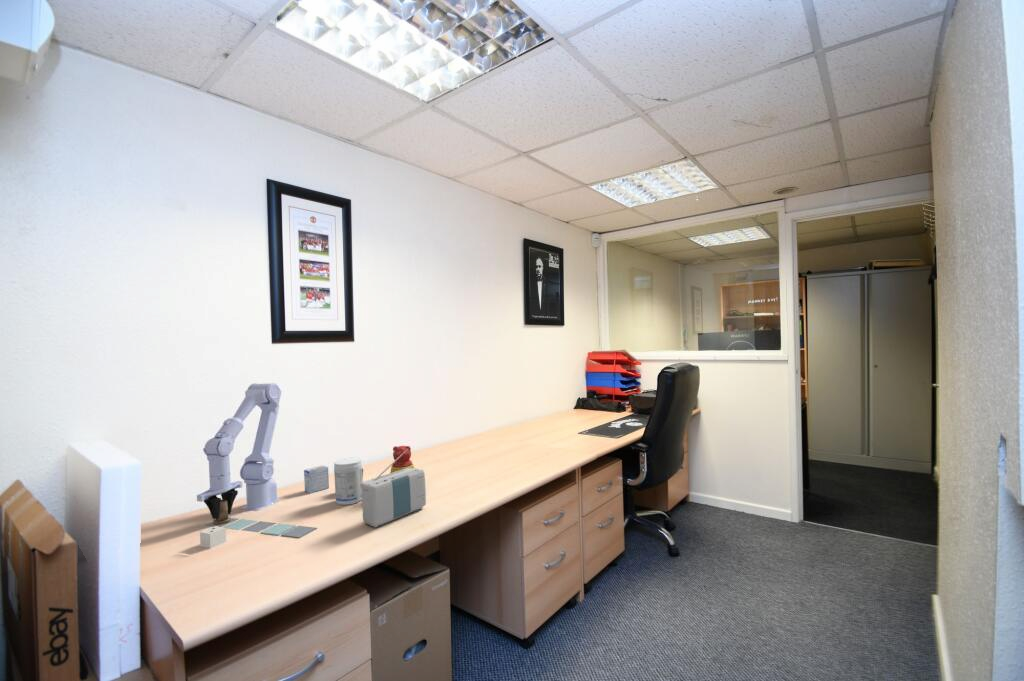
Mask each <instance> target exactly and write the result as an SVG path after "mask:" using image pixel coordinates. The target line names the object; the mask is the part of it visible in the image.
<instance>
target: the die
mask: <svg viewBox="0 0 1024 681" xmlns="http://www.w3.org/2000/svg"><path fill="white" fill-rule="evenodd" d="M223 527H224V526H222V527H218V526H214V527H213V526H211V527H209V528H206V529H204V530H202V531H200V532H199V539H200V540H199V541H200V542H199V543H200V547H202V548H206V549H210V550H211V549H213V548H215V547H217V546H220V545H223V544H224V543H226V542H227V534H226V533H227V531H226V529H227V528H223Z"/></svg>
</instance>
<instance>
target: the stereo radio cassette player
mask: <svg viewBox="0 0 1024 681" xmlns="http://www.w3.org/2000/svg"><path fill="white" fill-rule="evenodd" d="M407 450H408V449H407ZM407 450H406V451H407ZM406 451H405V452H406ZM405 452H404V453H405ZM404 453H403V454H404ZM403 454H401V455H400V456H399V457H398V458H397V459H396V460H393V461H392V463H390V464H388V466H386V468H385V469H384V470H382V472H381V473H380V474H378V476H376V477H375V478H371V479H368V480H365V481H363V482H361V489H362V500H361V503H362V504H361V507H362V521H363V522H364V523H365V524H366V525H369V526H372V527H374V528H378V527H379V526H382V525H385V524H387V523H389V522H391V521H394V520H396V519H399V518H402V517H404V516H406V515H409V514H411V513H414V512H416V511H418V510H422V509H423V508H424V507H425V506H426V504H427V493H426V492H427V491H426V490H427V488H426V487H427V486H426V475H425V471H424V469H419V468H415V467H414V468H406V469H403V470H399V471H396V472H393V473H390V472H389V473H387V474H385V473H386V471H387V470H388V469H389V468H391V467H392V465H393V464H394V463H395V462H396V461H397V460H398V459H399V458H400V457H401V456H402V455H403Z"/></svg>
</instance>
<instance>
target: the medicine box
mask: <svg viewBox="0 0 1024 681" xmlns="http://www.w3.org/2000/svg"><path fill="white" fill-rule="evenodd" d="M303 478H304V480H303V483H304V492H305V493H307V494H313V493H316V492H319V491H324V490H325V489H326V490H327V489H329V488H330V483H329V482H330V478H329V467H328V466H326V465H323V464H322V465H318V466H314V467H310V468H307V469H304V470H303Z"/></svg>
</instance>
